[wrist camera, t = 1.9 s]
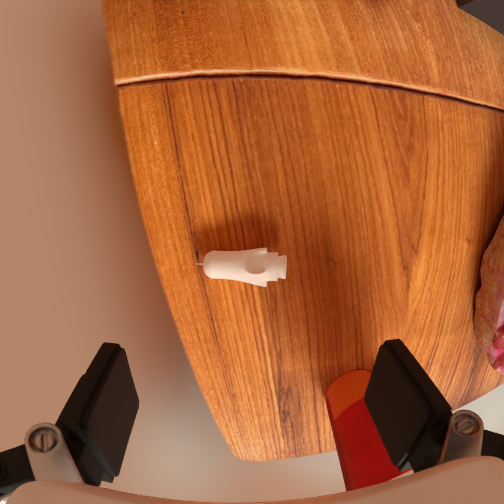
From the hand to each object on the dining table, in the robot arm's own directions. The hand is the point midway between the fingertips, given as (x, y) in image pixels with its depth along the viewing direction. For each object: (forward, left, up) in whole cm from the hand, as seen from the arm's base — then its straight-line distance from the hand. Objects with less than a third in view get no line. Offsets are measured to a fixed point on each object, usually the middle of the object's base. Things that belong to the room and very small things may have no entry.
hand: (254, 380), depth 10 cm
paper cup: (+14, +11, -12) cm, 21 cm away
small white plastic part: (0, 0, -12) cm, 12 cm away
